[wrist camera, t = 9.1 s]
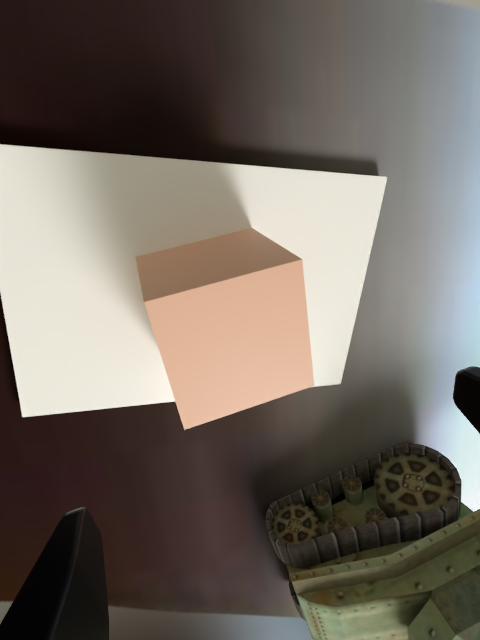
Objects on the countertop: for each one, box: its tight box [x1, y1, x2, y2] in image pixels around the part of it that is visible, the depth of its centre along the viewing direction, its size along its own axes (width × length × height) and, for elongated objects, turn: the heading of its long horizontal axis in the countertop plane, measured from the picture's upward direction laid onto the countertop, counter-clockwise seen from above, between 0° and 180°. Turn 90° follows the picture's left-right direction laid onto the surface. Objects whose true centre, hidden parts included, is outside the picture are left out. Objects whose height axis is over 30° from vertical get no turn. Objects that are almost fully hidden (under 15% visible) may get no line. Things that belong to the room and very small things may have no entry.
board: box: [0, 144, 387, 417], centre depth 17 cm, size 16×11×1 cm
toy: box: [265, 443, 480, 640], centre depth 24 cm, size 10×18×10 cm, turn 105°
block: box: [136, 228, 314, 430], centre depth 15 cm, size 5×5×5 cm
